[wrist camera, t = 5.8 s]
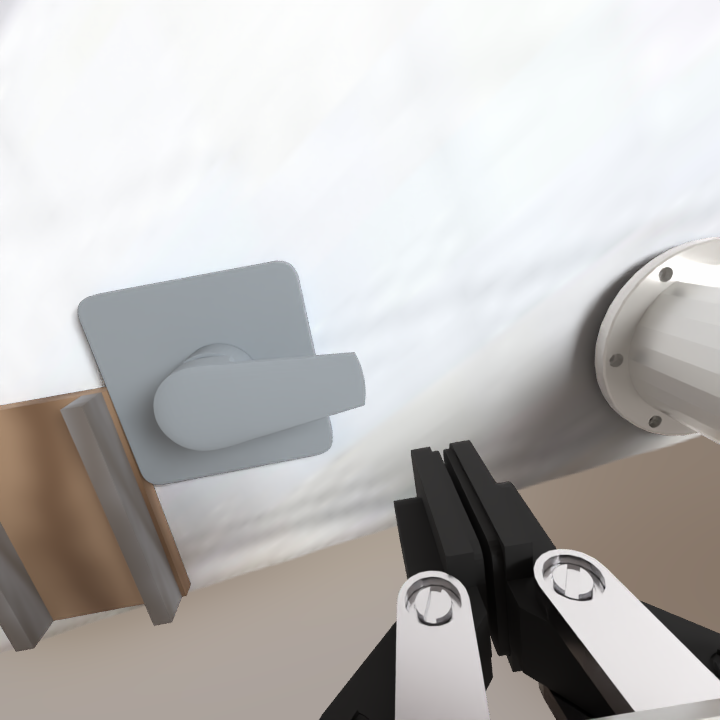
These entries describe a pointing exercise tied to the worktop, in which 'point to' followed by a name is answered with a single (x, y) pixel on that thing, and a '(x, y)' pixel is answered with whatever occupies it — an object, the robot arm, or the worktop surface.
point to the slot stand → (78, 519)
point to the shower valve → (218, 371)
